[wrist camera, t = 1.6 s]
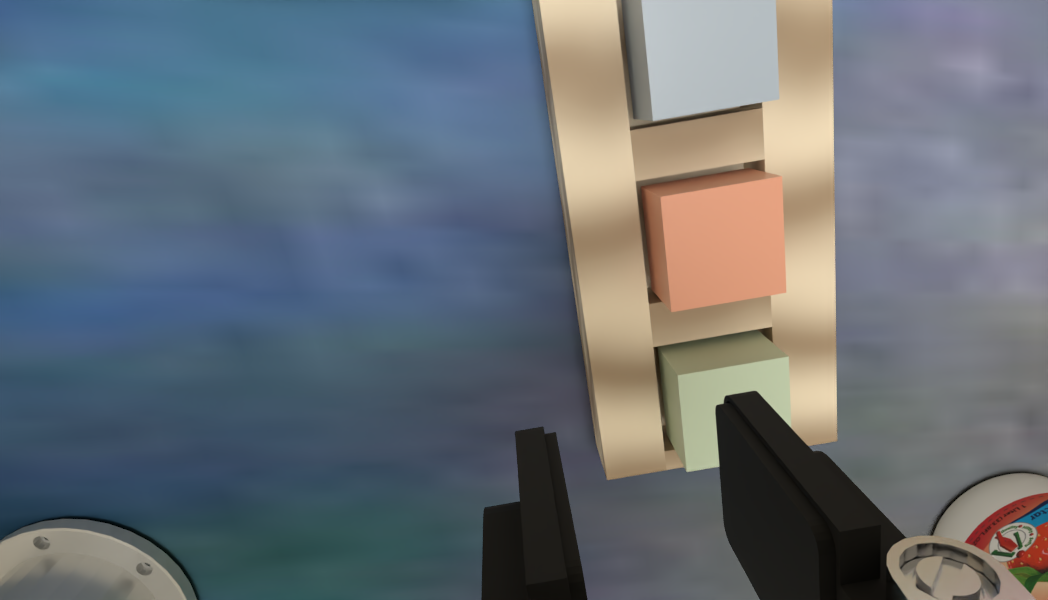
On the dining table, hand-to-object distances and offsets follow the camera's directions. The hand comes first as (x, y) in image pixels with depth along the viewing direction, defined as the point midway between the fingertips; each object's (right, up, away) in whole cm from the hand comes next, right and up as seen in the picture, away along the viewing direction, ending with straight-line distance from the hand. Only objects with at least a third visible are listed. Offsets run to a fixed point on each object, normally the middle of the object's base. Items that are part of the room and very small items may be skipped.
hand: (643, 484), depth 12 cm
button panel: (+6, +7, +20) cm, 22 cm away
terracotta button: (+6, +7, +18) cm, 20 cm away
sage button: (+7, -1, +20) cm, 21 cm away
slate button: (+5, +14, +15) cm, 21 cm away
